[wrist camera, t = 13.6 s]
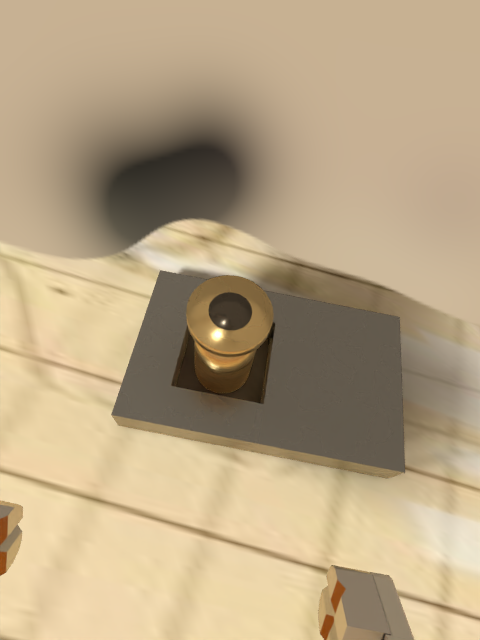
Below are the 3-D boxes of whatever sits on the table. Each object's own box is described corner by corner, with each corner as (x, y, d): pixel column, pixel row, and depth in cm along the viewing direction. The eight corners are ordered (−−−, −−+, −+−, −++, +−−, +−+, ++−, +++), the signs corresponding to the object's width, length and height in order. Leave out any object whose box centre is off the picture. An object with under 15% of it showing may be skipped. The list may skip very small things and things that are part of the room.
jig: (118, 425, 26) (111, 414, 24) (162, 289, 32) (160, 270, 29) (387, 478, 26) (405, 472, 24) (385, 332, 31) (399, 317, 29)
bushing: (182, 391, 28) (176, 340, 21) (197, 331, 30) (197, 267, 23) (249, 404, 28) (267, 358, 21) (259, 343, 30) (278, 283, 23)
